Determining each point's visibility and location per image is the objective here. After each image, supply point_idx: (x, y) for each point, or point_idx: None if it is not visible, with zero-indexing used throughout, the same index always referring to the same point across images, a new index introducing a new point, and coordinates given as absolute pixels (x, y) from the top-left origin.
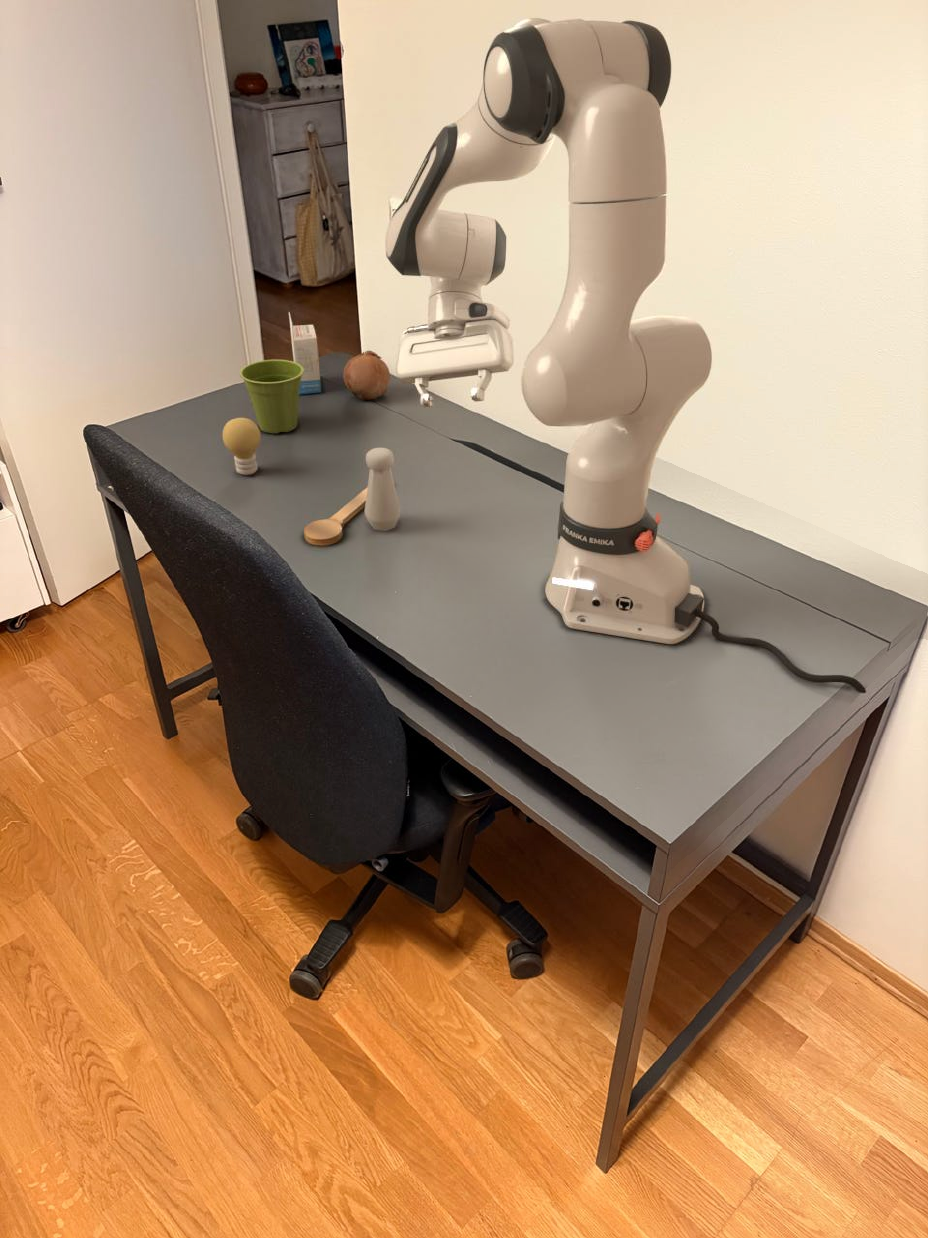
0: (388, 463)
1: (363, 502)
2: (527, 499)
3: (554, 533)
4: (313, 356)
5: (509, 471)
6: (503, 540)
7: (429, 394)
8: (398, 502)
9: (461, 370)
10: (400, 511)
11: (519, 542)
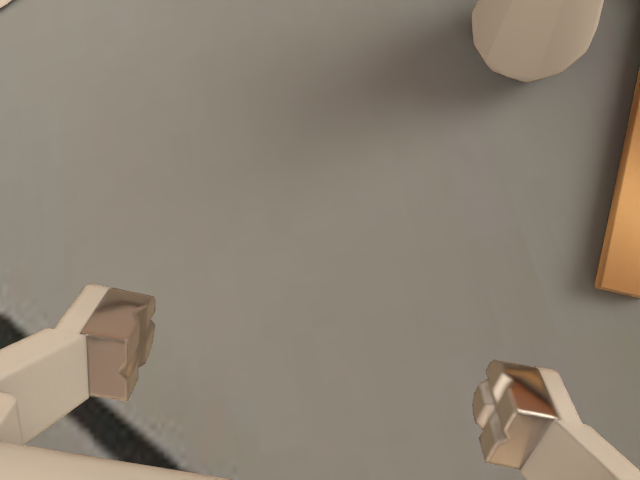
0: None
1: (635, 116)
2: None
3: (63, 134)
4: None
5: (215, 466)
6: (178, 66)
7: (508, 421)
8: (483, 13)
9: (169, 469)
10: (473, 29)
11: (139, 69)
